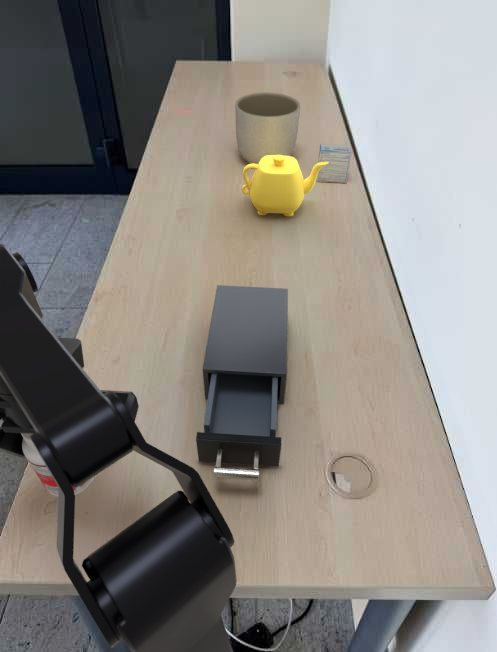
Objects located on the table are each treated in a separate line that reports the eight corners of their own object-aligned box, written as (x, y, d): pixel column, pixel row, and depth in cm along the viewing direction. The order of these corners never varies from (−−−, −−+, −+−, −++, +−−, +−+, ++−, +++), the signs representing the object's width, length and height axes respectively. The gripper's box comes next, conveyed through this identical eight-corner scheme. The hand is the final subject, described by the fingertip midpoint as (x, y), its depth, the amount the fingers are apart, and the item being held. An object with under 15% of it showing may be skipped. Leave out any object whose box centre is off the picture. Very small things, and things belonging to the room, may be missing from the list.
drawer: (278, 494, 66) (280, 473, 61) (194, 488, 66) (191, 467, 62) (281, 367, 82) (283, 343, 77) (213, 363, 82) (212, 339, 78)
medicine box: (345, 175, 131) (350, 144, 125) (346, 184, 128) (351, 152, 122) (316, 174, 132) (320, 143, 126) (316, 182, 128) (320, 150, 122)
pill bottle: (86, 444, 61) (61, 389, 54) (105, 480, 58) (81, 427, 50) (37, 469, 59) (4, 415, 51) (54, 509, 55) (21, 457, 48)
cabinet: (283, 404, 77) (287, 374, 72) (205, 399, 78) (202, 369, 72) (285, 319, 91) (287, 288, 86) (218, 315, 92) (217, 284, 86)
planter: (229, 169, 133) (228, 112, 122) (243, 143, 145) (243, 89, 134) (290, 176, 130) (294, 119, 120) (299, 149, 142) (304, 95, 131)
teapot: (243, 190, 125) (244, 142, 116) (321, 194, 124) (328, 145, 115) (238, 219, 115) (238, 169, 106) (323, 223, 114) (330, 173, 105)
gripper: (138, 315, 50) (157, 405, 61) (-38, 307, 51) (12, 397, 62) (110, 402, 42) (137, 487, 53) (-97, 391, 43) (-29, 478, 54)
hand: (63, 458), depth 56 cm, fingers closed on pill bottle, 6 cm apart
